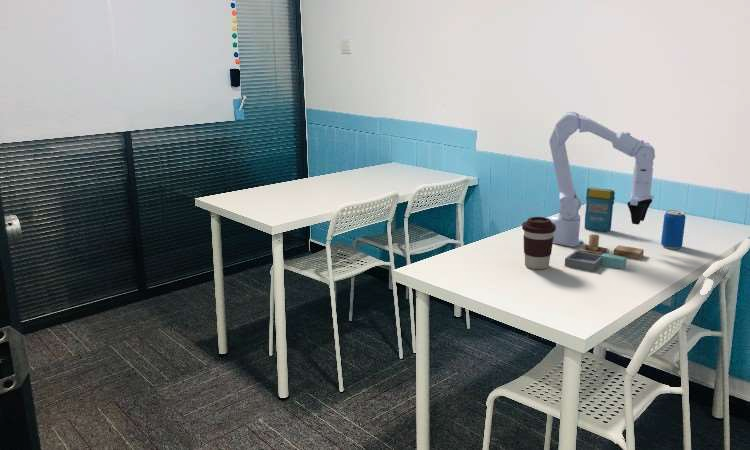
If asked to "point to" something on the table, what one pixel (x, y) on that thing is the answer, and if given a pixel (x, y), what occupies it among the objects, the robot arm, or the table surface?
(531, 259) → the coffee cup
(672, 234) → the beverage can
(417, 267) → the table surface
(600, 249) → the socket
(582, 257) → the tray
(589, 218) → the teal coffee bag
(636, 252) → the tan wooden slab
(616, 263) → the teal rectangular block
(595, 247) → the dowel
